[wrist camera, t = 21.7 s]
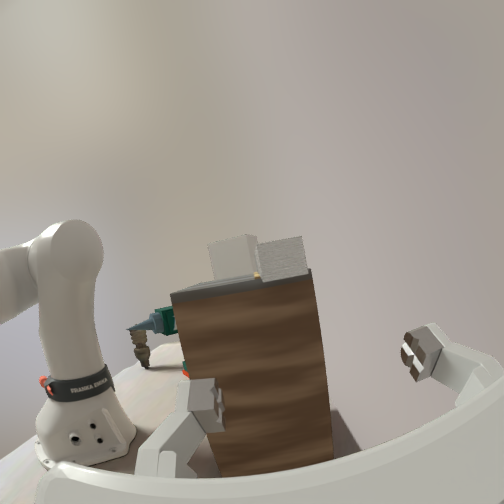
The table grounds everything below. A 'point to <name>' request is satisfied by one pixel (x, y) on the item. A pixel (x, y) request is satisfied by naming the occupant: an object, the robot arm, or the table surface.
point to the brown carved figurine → (141, 346)
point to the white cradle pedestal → (233, 256)
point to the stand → (260, 370)
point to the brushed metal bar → (280, 259)
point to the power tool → (161, 325)
